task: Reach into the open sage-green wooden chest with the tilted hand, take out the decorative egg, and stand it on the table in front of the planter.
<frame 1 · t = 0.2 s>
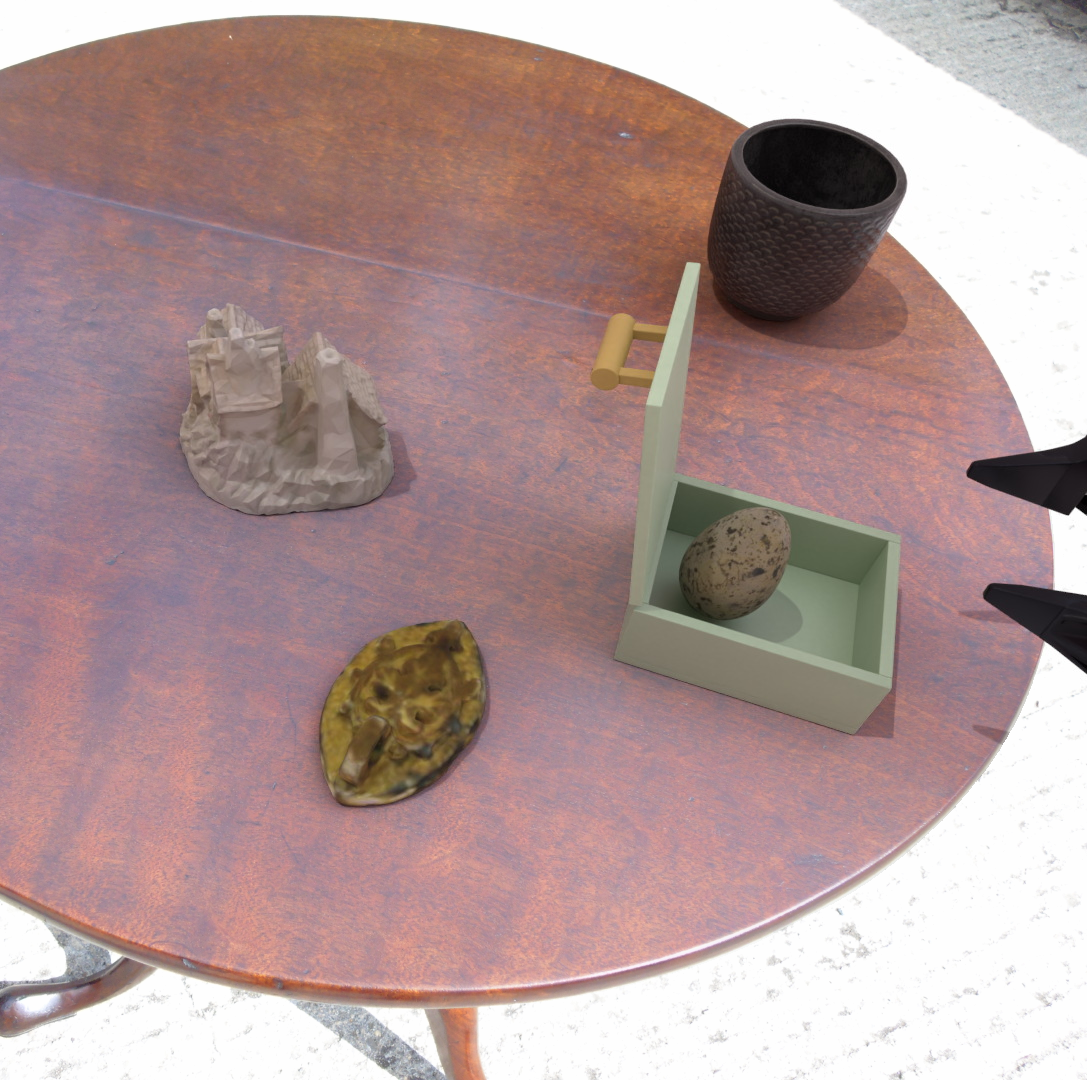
hand: (977, 526, 60), 14 cm above the table, tool horizontal, fingers open, 9 cm apart
decorative egg: (703, 600, 73), point 1 cm above the table, touching chest
planter: (765, 294, 96), on the table
ceramic cottage: (287, 440, 83), on the table
chest: (743, 621, 73), on the table
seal: (403, 714, 68), on the table
chest lid: (632, 435, 64), point 14 cm above the table, hinge at 100.0°
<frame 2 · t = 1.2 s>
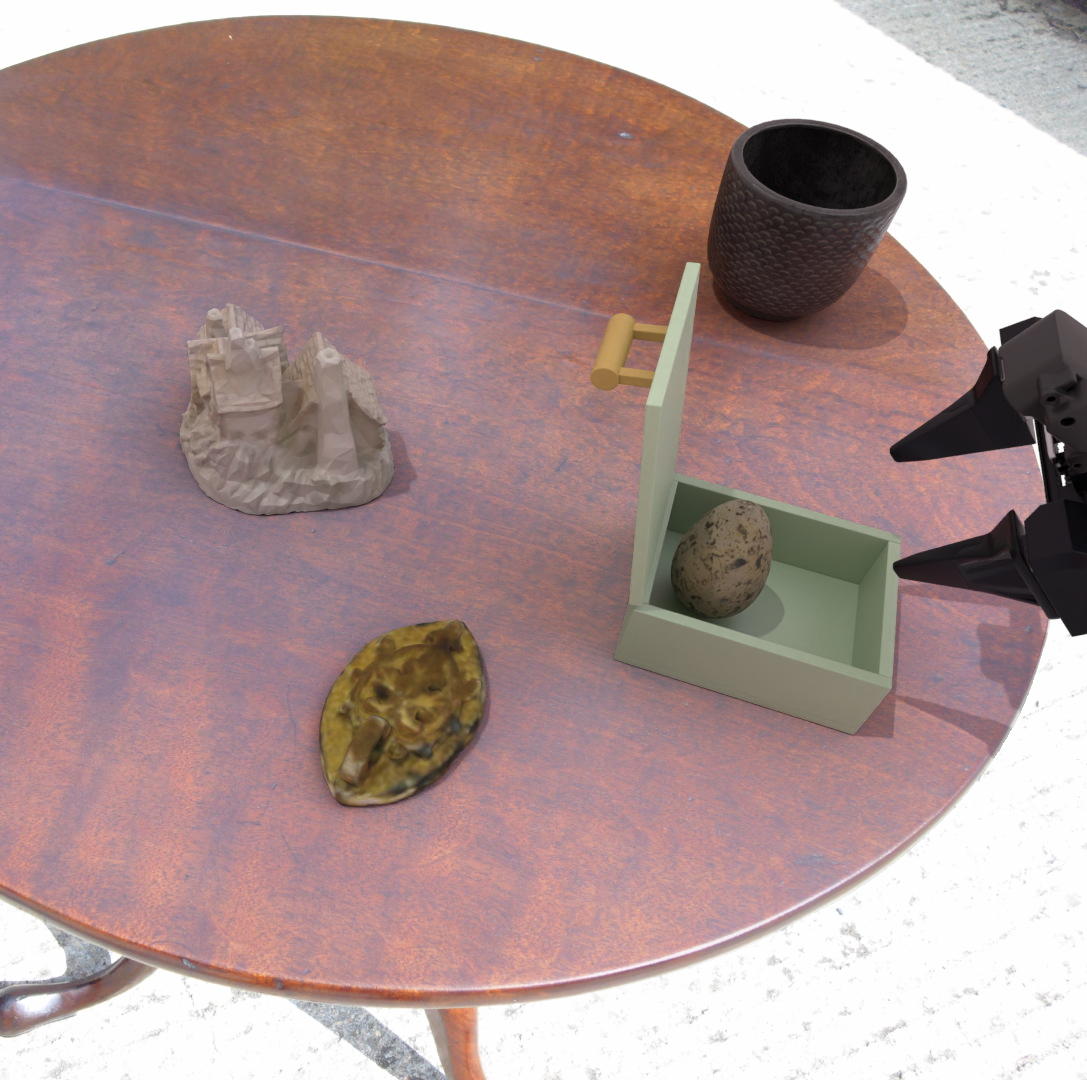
hand: (893, 510, 62), 13 cm above the table, tool tilted 45°, fingers open, 9 cm apart
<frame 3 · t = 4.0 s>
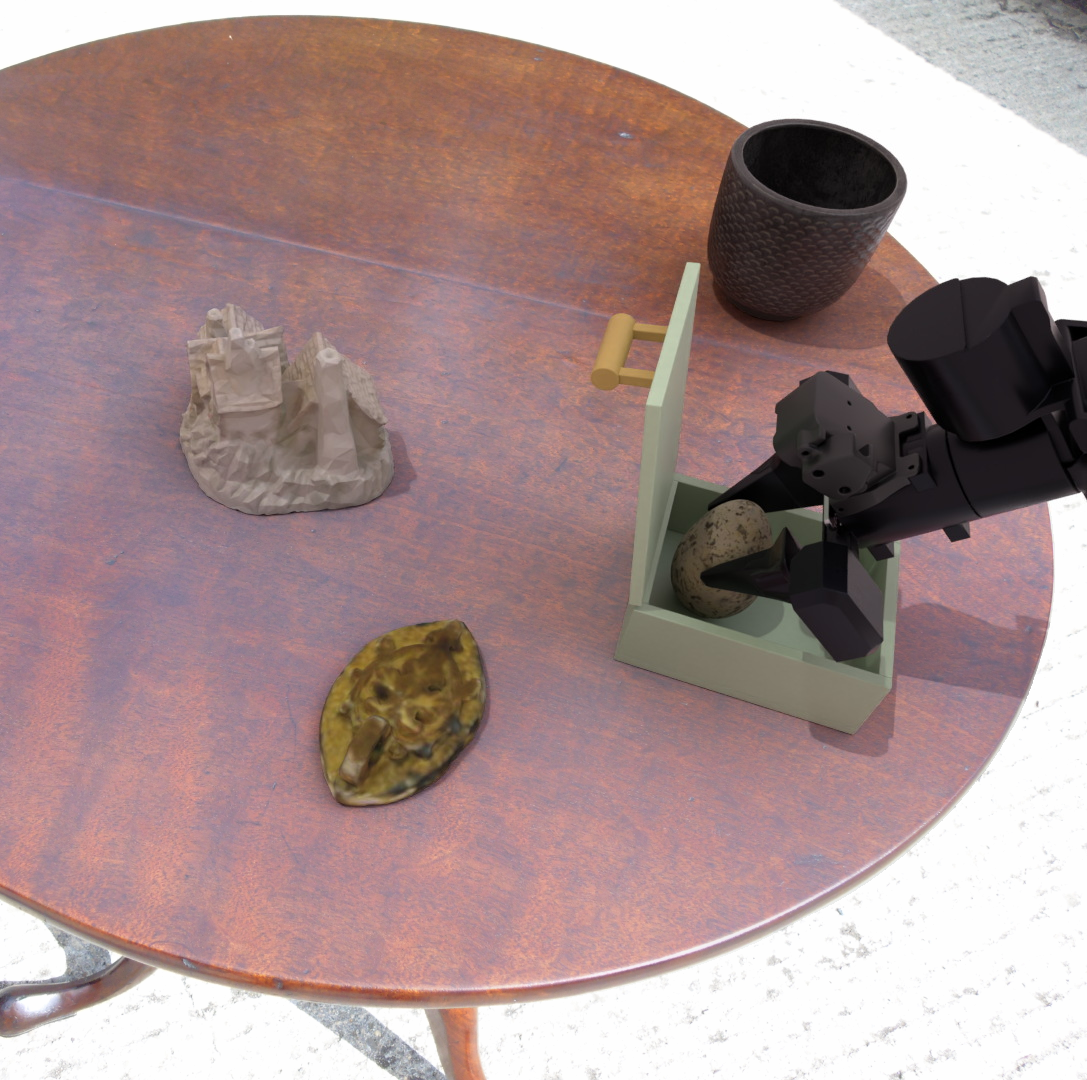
hand: (706, 544, 69), 7 cm above the table, tool tilted 45°, fingers closed on decorative egg, 5 cm apart
decorative egg: (702, 603, 73), point 1 cm above the table, touching chest, gripper
everything else where it was.
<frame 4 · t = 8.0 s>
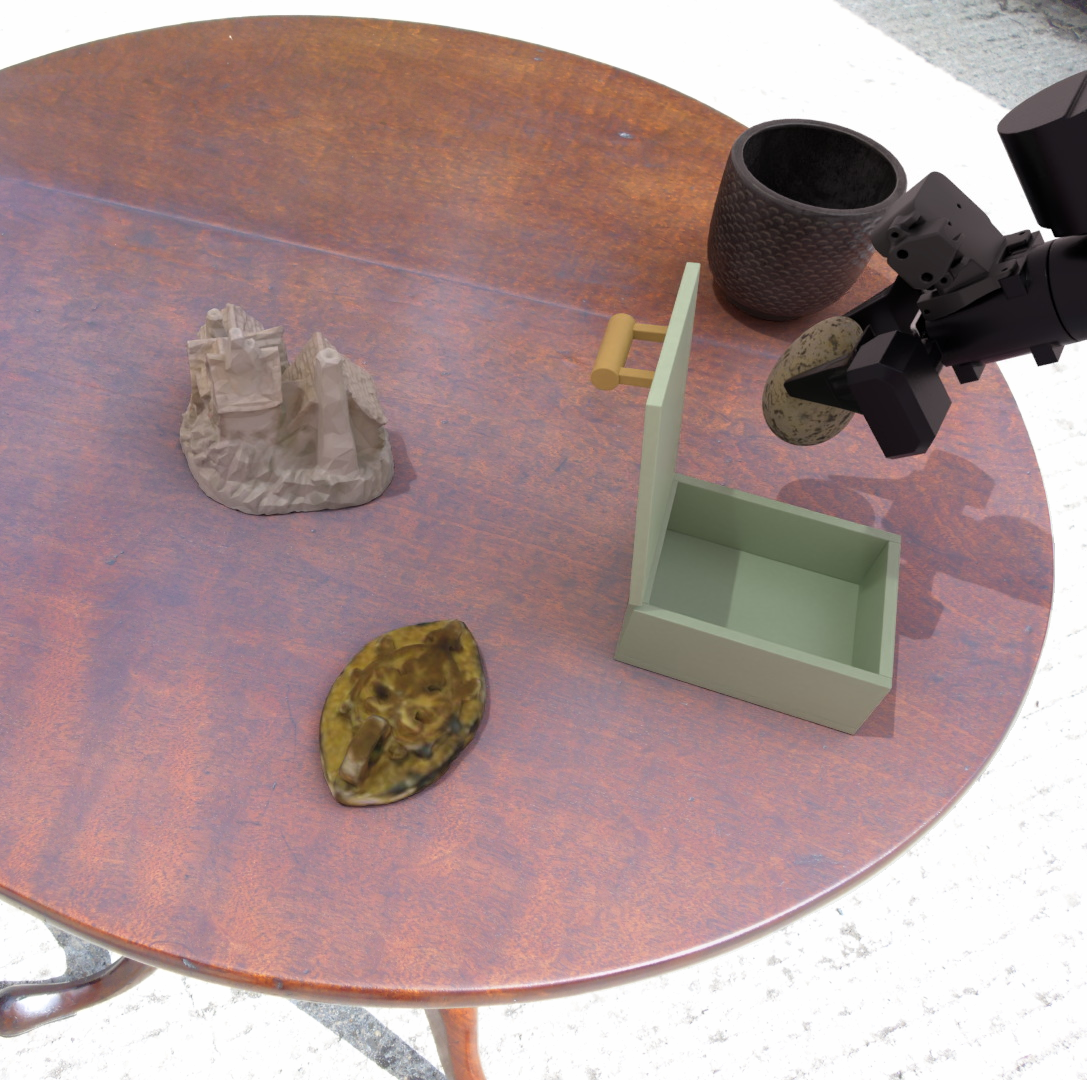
hand: (802, 363, 70), 13 cm above the table, tool tilted 45°, fingers closed on decorative egg, 5 cm apart
decorative egg: (791, 436, 74), point 7 cm above the table, touching gripper
everything else where it was.
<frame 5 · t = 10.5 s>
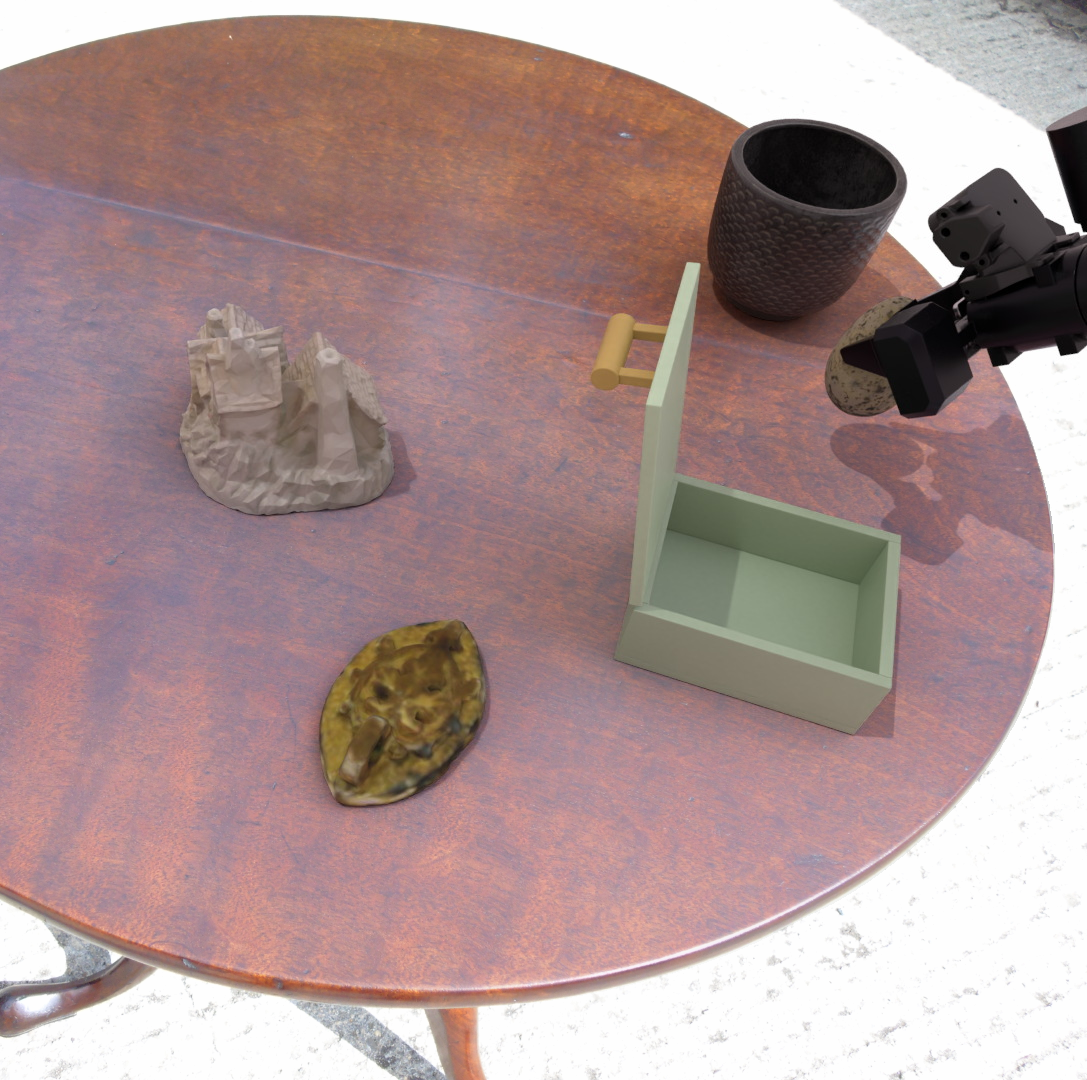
hand: (866, 338, 77), 10 cm above the table, tool tilted 45°, fingers closed on decorative egg, 5 cm apart
decorative egg: (850, 409, 81), point 4 cm above the table, touching gripper
everything else where it was.
when the fingers open (6 cm above the table, at t = 12.2 s): decorative egg stays where it is, on the table.
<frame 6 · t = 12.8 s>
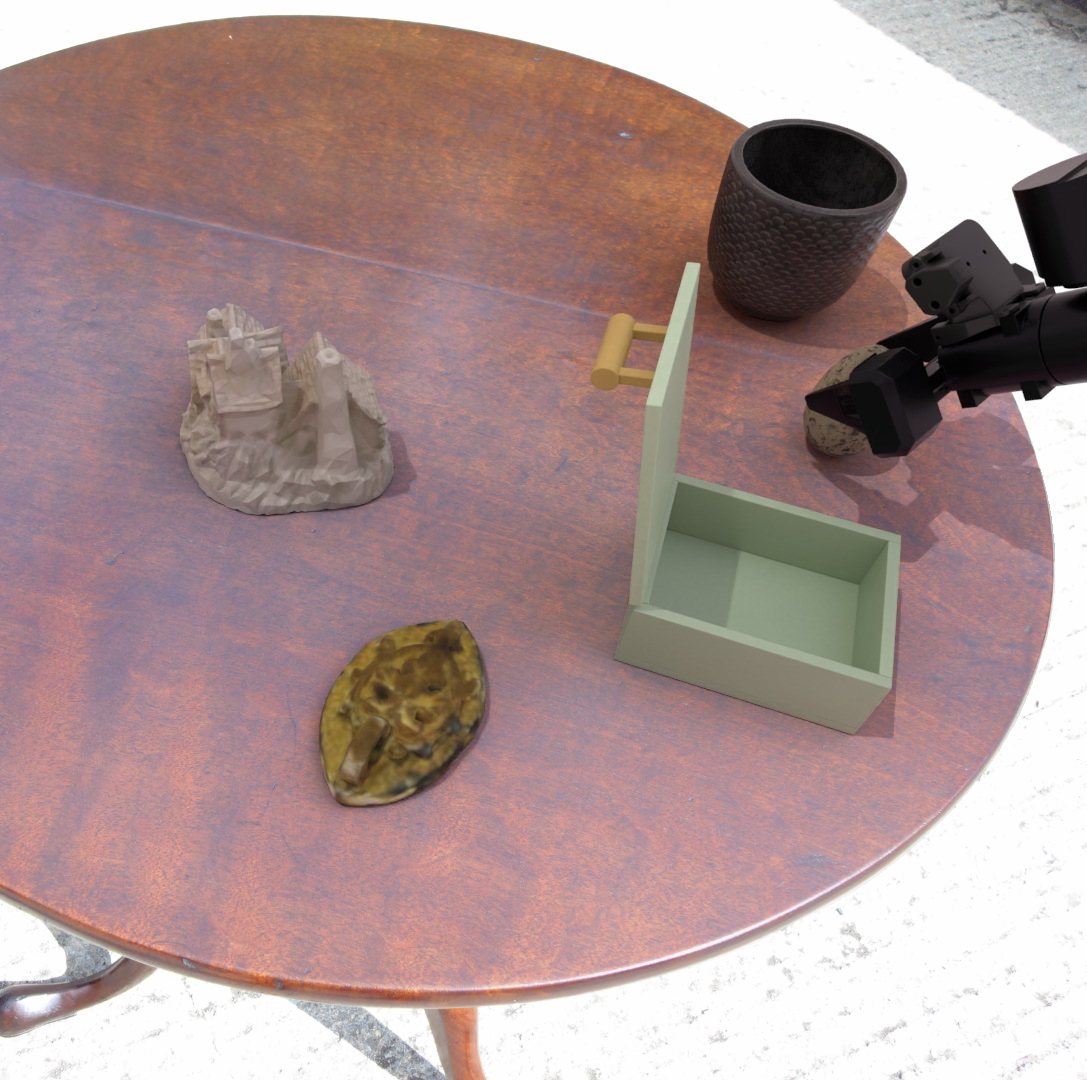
hand: (843, 374, 80), 6 cm above the table, tool tilted 45°, fingers open, 9 cm apart
decorative egg: (827, 448, 84), on the table
everything else where it was.
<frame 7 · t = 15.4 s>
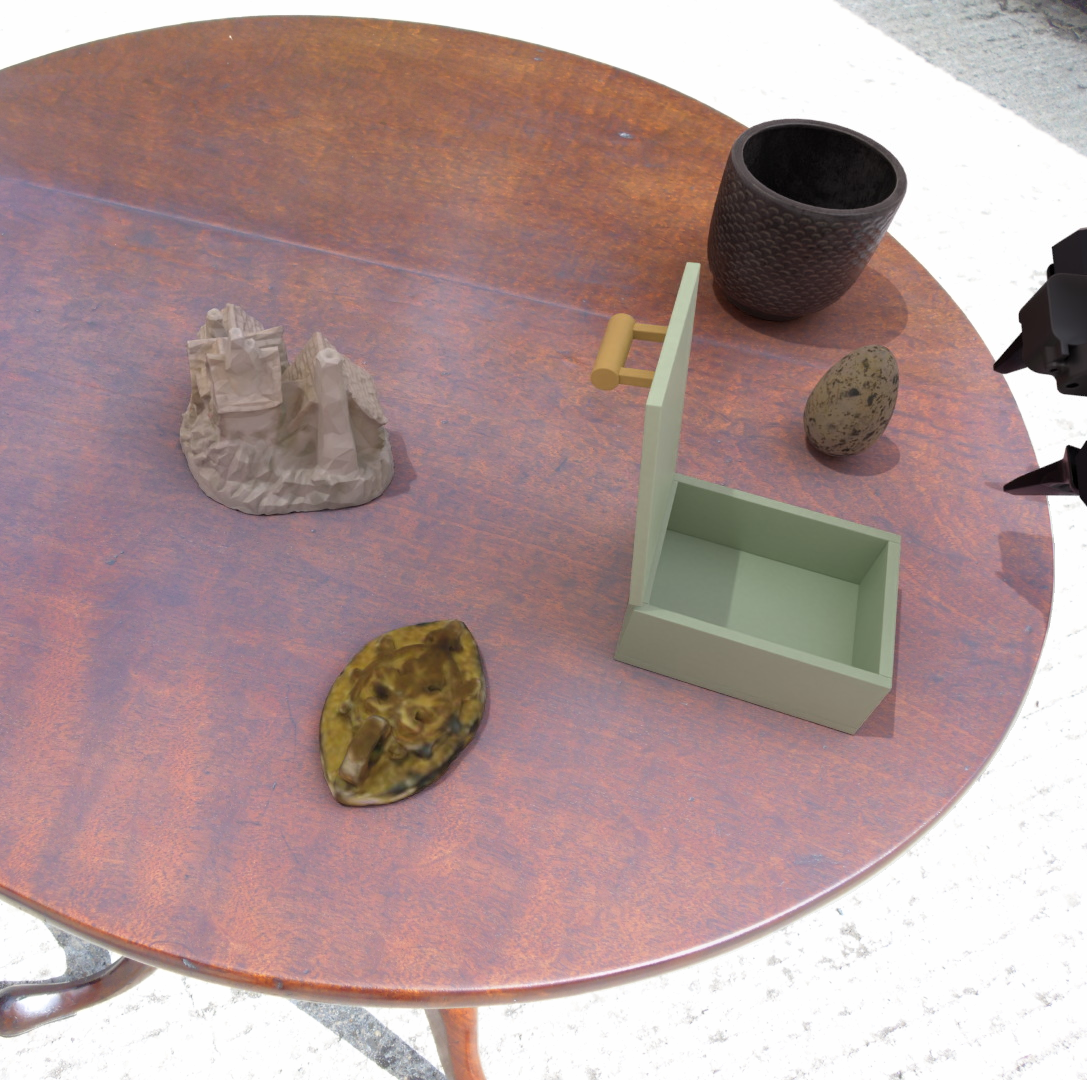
hand: (1002, 429, 72), 10 cm above the table, tool tilted 25°, fingers open, 9 cm apart
nothing on the table moved.
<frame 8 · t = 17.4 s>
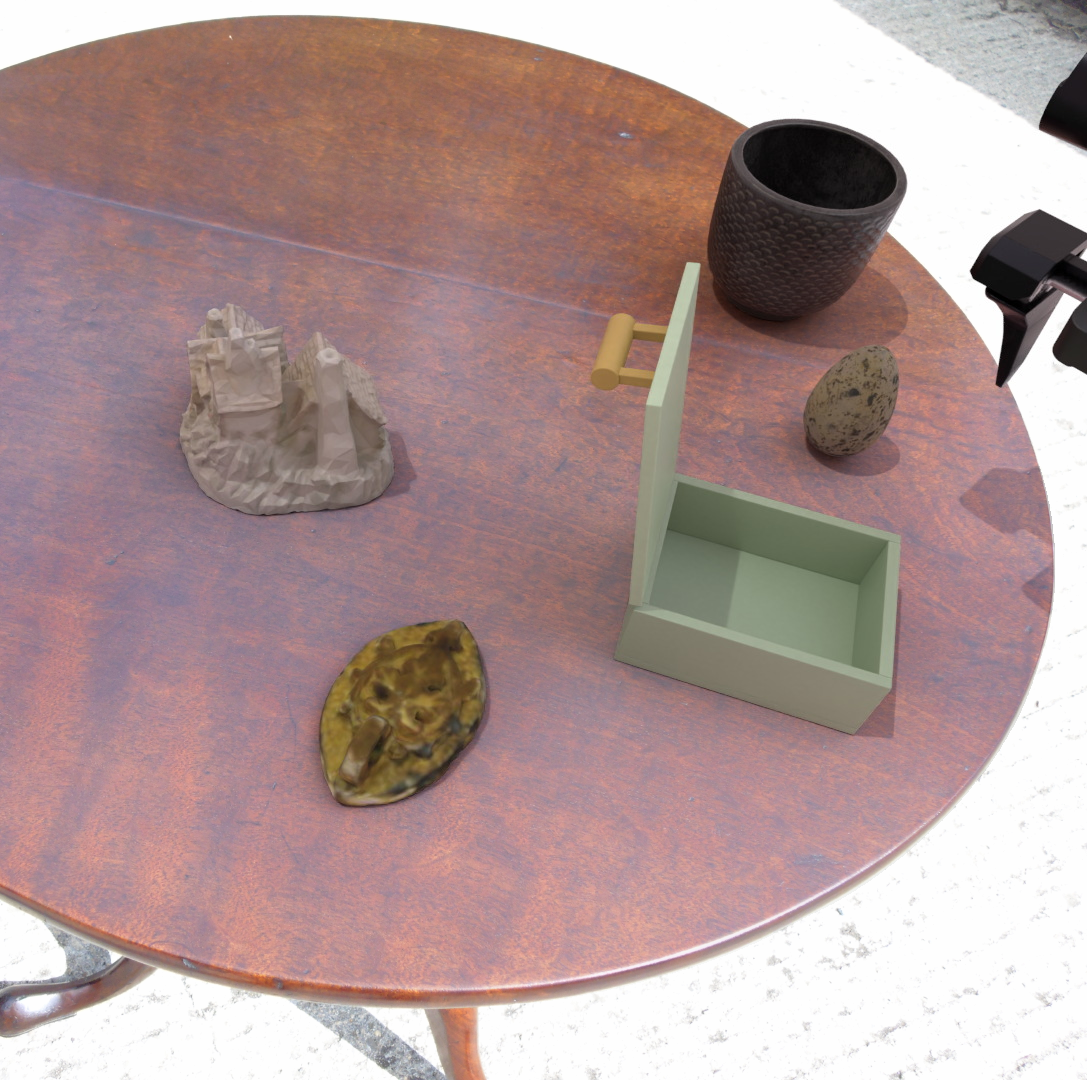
hand: (1067, 423, 68), 13 cm above the table, tool pointing down, fingers open, 9 cm apart
nothing on the table moved.
at the end: decorative egg inside the target area (0.1 cm from its centre), on the table; decorative egg tilted 0°; decorative egg 18.8 cm from the planter (horizontally) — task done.
